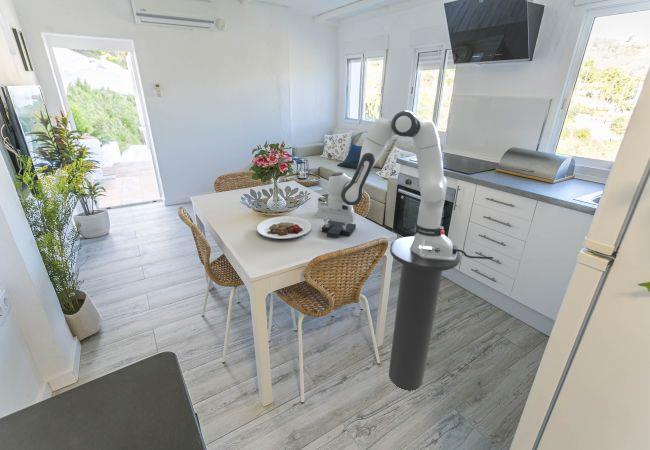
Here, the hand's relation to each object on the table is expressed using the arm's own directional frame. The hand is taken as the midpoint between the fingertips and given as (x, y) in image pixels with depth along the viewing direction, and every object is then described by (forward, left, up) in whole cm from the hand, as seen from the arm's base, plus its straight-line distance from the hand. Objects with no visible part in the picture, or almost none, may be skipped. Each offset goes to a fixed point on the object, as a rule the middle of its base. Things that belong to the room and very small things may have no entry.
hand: (335, 227), depth 170 cm
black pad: (0, -6, -4) cm, 7 cm away
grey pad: (0, 0, -4) cm, 4 cm away
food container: (+15, -27, -4) cm, 31 cm away
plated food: (+28, +6, -4) cm, 29 cm away
